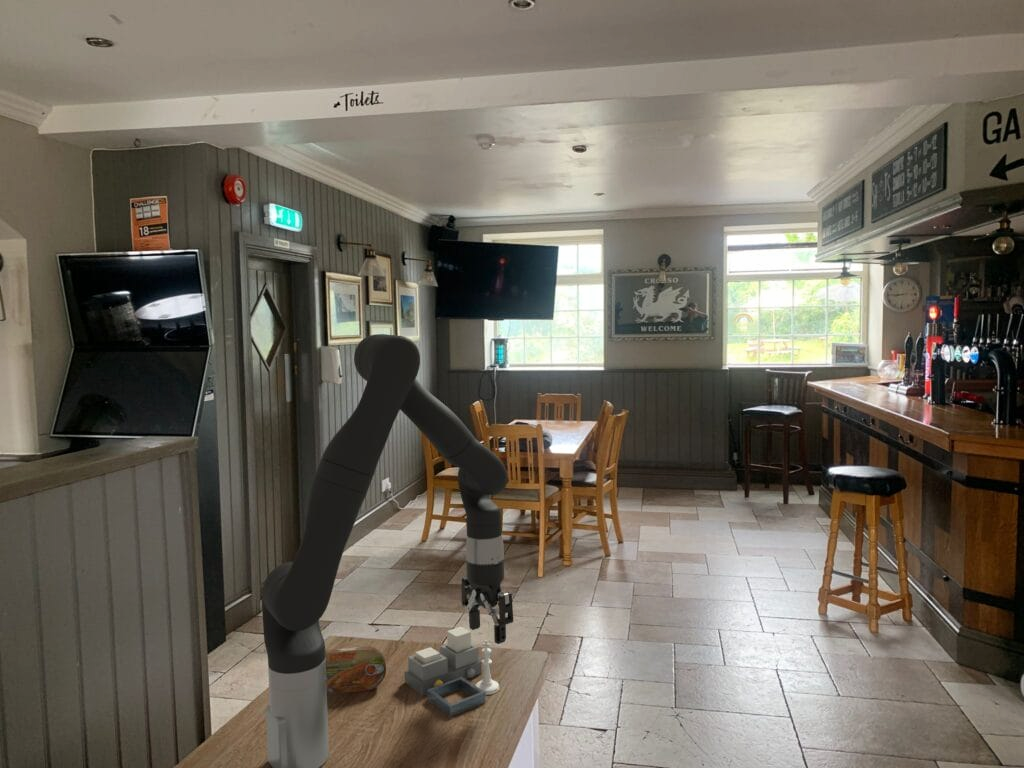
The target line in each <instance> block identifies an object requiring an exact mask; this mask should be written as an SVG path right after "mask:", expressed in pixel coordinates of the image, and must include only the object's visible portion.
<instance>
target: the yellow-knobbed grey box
mask: <svg viewBox="0 0 1024 768" xmlns="http://www.w3.org/2000/svg"><path fill="white" fill-rule="evenodd" d="M439 650H440V652H439V653H440V659H439V660H436V661H433V662H430V663H427V664H423V663H421V662H420V661H418V660H417V659H416V655H415V654H413V655H412V654H411V655H410V656H407V662H408V663H407V664H408V666H407V667H408V668H407V669H406V670H403V671H404V684H406V685H407V686H409V687H411V688H412V690H414V691H416V693H419V695H421V696H422V697H423V696H425V695H426V696H427V690H428V689H431V688H433V687H436V686H438V685H441V684H444V683H446V682H449V681H452V680H454V679H457V678H460V677H463V678H464V679H466V680H468V679H472V678H473V677H475V675H476V676H479V675H482V673H483V670H482V667H483V666H482V665H483V664H482V663H481V662H482V660H480V658H479V656H480V655H479V646H477V645H475V644H473V643H472V642H471V648H468V649H466V650H463V651H460V652H455V651H454V650H452V649H450V648H449V647H447V643H446V644H442V645H440V646H439Z"/></svg>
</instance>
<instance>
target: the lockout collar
mask: <svg viewBox="0 0 1024 768" xmlns="http://www.w3.org/2000/svg"><path fill="white" fill-rule="evenodd" d="M475 685H476V684H473V683H472V682H470V681H469V680H468V679H464V678H463V677H460V678H457V679H454V680H452V681H449V682H446V683H444V684H441V685H438V686H436V687H433V688H431V689H428V690H427V694H426V700H427V701H428V702H430V703H431V704H432V705H434V707H436V708H437V709H439V710H440V711H442V712H443V713H444V714H446V715H447V716H448V717H450V718H451V717H453V716H456V715H458V714H460V713H464V712H465V711H469V710H470V709H473V708H476V707H478V706H481V705H483V704H485V703H486V702H487V701H486V699H487V697H486V696H487V695H485V692H484V691H482V690H481V689H479V688H478V687H476V686H475ZM458 690H462V691H463V690H464V691H463V692H465V693H466V692H467V694H468V695H470V696H468V697H465V698H462V699H460V700H457V701H455V702H453V703H450V702H449V701H448V700H446V699H445V698H444V697H443V696H446V695H448V694H451V693H454V692H456V691H458Z"/></svg>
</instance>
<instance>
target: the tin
mask: <svg viewBox="0 0 1024 768" xmlns="http://www.w3.org/2000/svg"><path fill="white" fill-rule="evenodd" d="M325 658H326V688H327V695H338V694H347V693H348V694H349V693H357V692H366V691H367V692H368V691H371V690H373V689H376V688H377V687H378V686H380V685H381V683H382V682H383V681H384V679H385V678H386V673H387V663H386V658H385V657H384V655H383V653H382V652H381V651H380V650H379V649H377V648H376V647H373V646H369V645H364V646H355V647H343V648H335V649H334V648H332V649H327V650H325Z"/></svg>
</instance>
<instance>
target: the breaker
mask: <svg viewBox="0 0 1024 768" xmlns="http://www.w3.org/2000/svg"><path fill="white" fill-rule="evenodd" d="M446 637H447V639H446V640H447V641H446V642H447V643H446V644H447V647H449V648H450V649H452V650H454V651H455V652H460V651H463V650H466V649H468V648H471V643H472V632H471V631H470V630H469V629H467V628H464V627H463V626H458V627H456V628H452V629H449V630H447V631H446Z"/></svg>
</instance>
